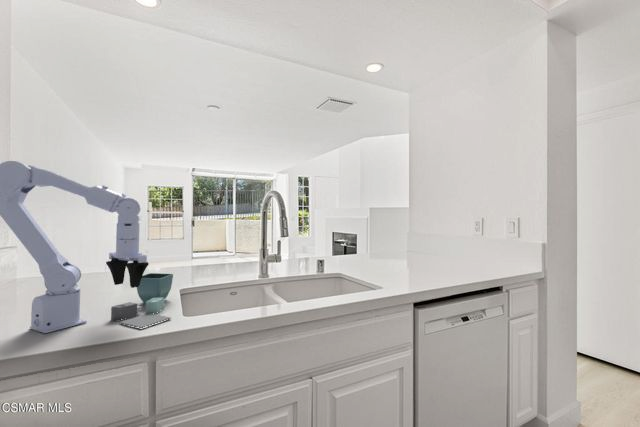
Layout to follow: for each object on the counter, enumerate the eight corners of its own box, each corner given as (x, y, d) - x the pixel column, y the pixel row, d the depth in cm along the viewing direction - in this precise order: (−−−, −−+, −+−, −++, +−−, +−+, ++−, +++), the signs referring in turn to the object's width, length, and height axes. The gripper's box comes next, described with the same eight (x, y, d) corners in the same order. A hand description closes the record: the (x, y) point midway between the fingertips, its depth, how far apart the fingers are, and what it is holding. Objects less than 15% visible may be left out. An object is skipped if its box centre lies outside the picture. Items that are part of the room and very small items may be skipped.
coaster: (140, 329, 80) (141, 327, 80) (119, 324, 84) (119, 321, 84) (171, 319, 88) (171, 317, 88) (150, 315, 92) (150, 313, 92)
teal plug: (155, 314, 93) (155, 302, 93) (143, 314, 92) (143, 302, 93) (166, 307, 101) (166, 296, 101) (155, 307, 100) (156, 296, 100)
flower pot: (160, 305, 103) (160, 278, 103) (134, 304, 103) (134, 277, 103) (173, 298, 111) (173, 273, 112) (149, 298, 112) (149, 273, 112)
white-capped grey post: (115, 321, 86) (116, 308, 86) (108, 319, 87) (108, 307, 87) (142, 314, 93) (142, 302, 93) (135, 312, 95) (135, 300, 95)
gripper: (156, 239, 91) (155, 285, 91) (126, 237, 97) (125, 280, 97) (133, 240, 85) (132, 290, 84) (102, 238, 91) (100, 284, 91)
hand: (126, 285), depth 90 cm, fingers open, 7 cm apart
